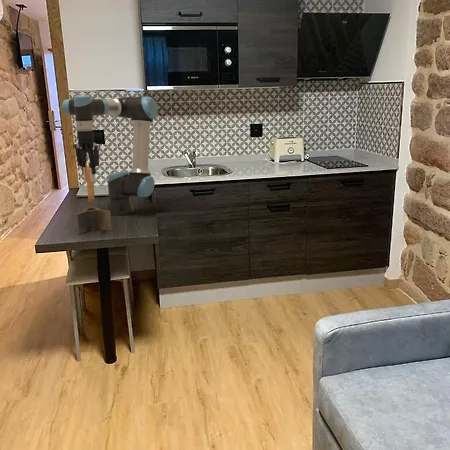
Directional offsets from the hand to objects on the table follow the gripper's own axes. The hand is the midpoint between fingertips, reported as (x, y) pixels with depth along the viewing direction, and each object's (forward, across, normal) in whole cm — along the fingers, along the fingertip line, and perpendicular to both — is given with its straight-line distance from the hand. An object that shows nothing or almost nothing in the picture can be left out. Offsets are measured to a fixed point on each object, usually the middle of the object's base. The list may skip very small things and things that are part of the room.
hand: (89, 180), depth 221 cm
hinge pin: (+11, 0, 0) cm, 11 cm away
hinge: (+26, -3, +4) cm, 27 cm away
